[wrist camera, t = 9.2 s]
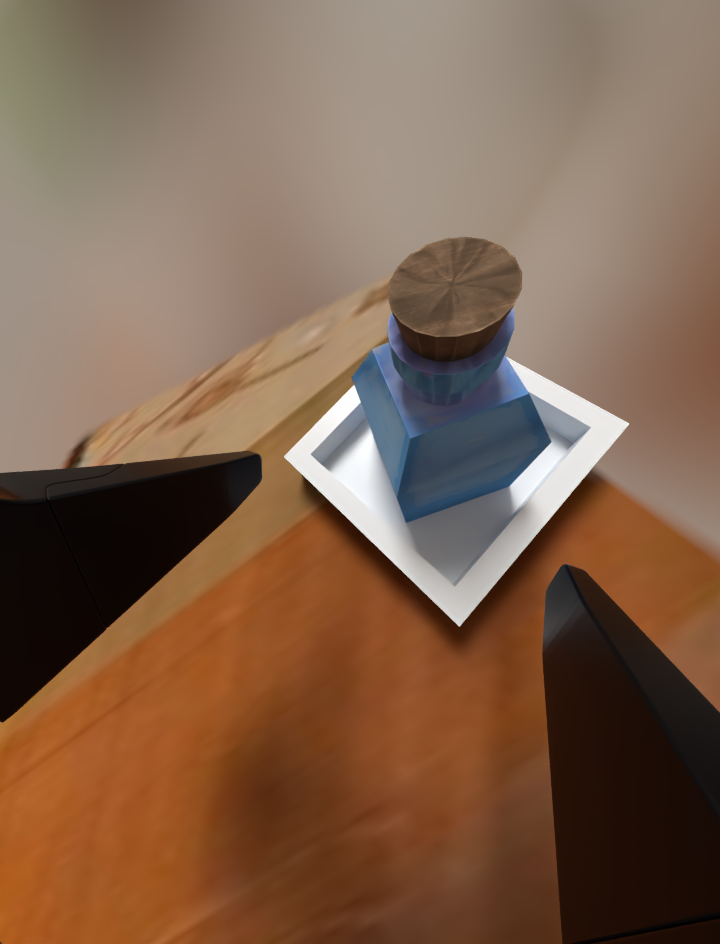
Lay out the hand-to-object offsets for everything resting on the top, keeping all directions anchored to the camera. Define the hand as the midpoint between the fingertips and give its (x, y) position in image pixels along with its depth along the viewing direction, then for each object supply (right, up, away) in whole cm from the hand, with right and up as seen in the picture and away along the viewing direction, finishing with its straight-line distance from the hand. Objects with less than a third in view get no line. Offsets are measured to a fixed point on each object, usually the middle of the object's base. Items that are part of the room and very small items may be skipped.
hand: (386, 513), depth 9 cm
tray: (+4, +2, +11) cm, 12 cm away
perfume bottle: (+4, +2, +10) cm, 11 cm away
